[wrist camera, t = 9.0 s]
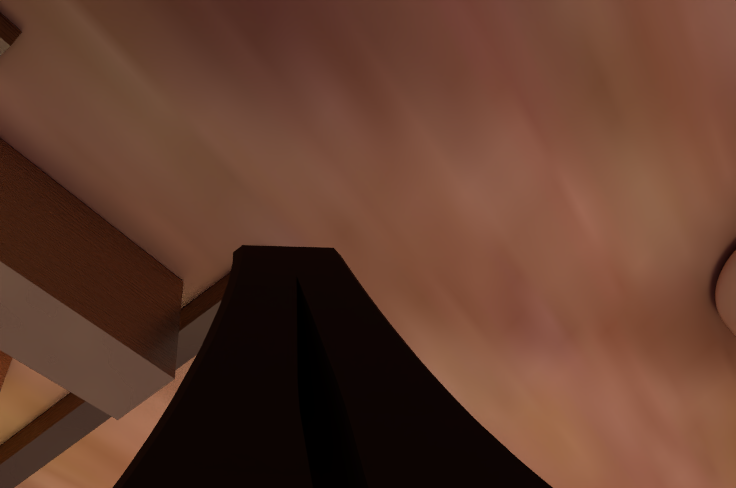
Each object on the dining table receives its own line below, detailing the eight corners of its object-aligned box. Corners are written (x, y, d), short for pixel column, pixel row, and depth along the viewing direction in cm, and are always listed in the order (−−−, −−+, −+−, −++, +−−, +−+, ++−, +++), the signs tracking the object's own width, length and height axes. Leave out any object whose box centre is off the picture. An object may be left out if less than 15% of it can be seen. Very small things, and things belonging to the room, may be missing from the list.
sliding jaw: (-84, 176, 17) (-157, 270, 14) (-23, 120, 17) (-85, 204, 13) (127, 323, 21) (109, 426, 18) (183, 281, 20) (174, 379, 17)
